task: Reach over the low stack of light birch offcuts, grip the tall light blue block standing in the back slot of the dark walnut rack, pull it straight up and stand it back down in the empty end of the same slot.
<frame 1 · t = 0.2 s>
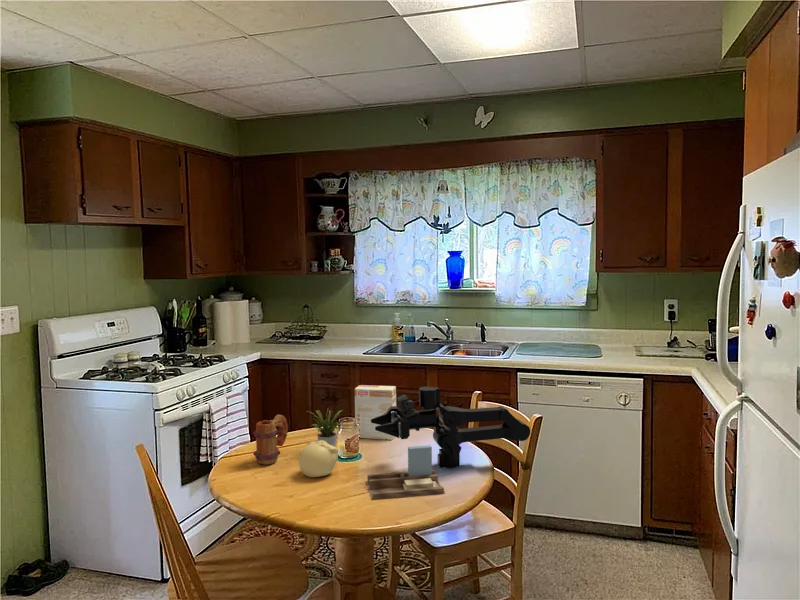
hand: (373, 424, 196), 16 cm above the table, tool horizontal, fingers open, 9 cm apart
rack: (404, 490, 184), on the table
house plant: (323, 452, 220), on the table
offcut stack: (420, 489, 182), point 1 cm above the table, touching rack
mug: (272, 460, 212), on the table
coffeecake box: (376, 436, 237), on the table
sculpture: (318, 474, 199), on the table
light blue block: (420, 481, 188), point 1 cm above the table, touching rack
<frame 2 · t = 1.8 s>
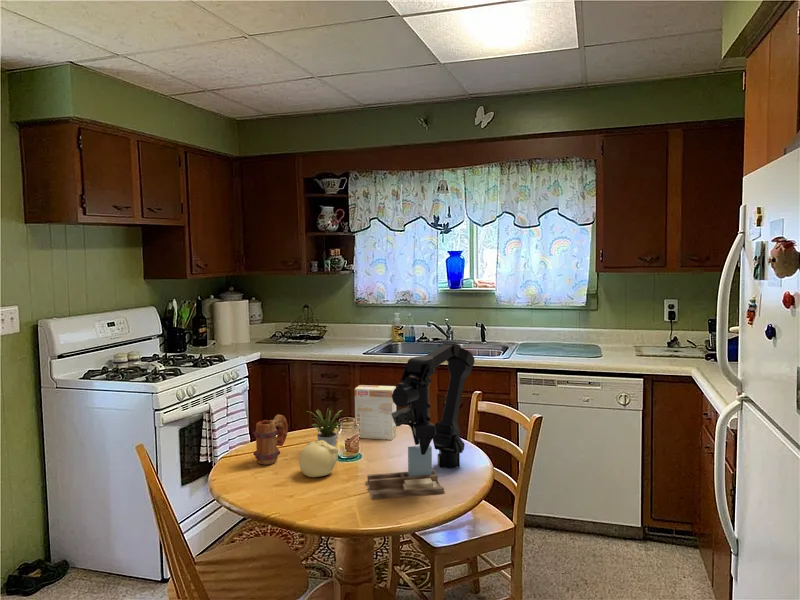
hand: (419, 449, 187), 11 cm above the table, tool pointing down, fingers open, 9 cm apart
nothing on the table moved.
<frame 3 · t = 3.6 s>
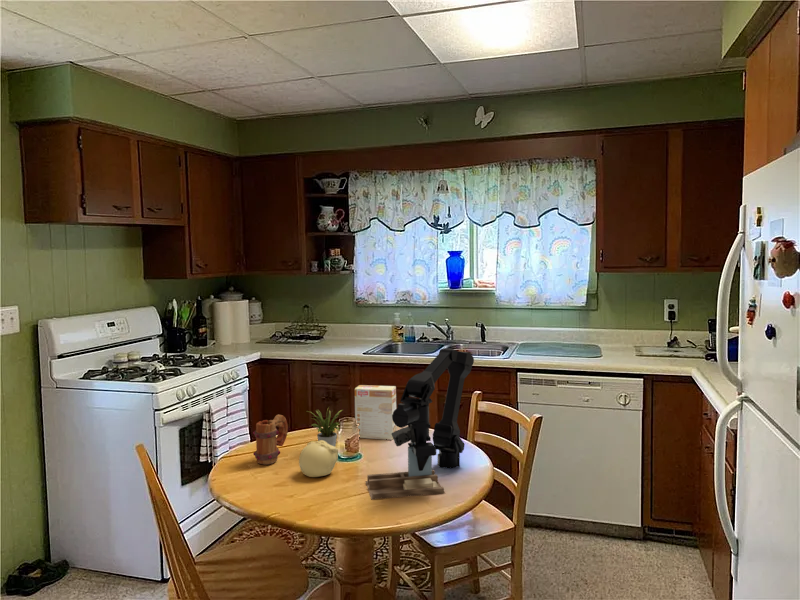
hand: (420, 469, 188), 5 cm above the table, tool pointing down, fingers closed on light blue block, 2 cm apart
light blue block: (420, 481, 188), point 1 cm above the table, touching gripper, rack
everything else where it was.
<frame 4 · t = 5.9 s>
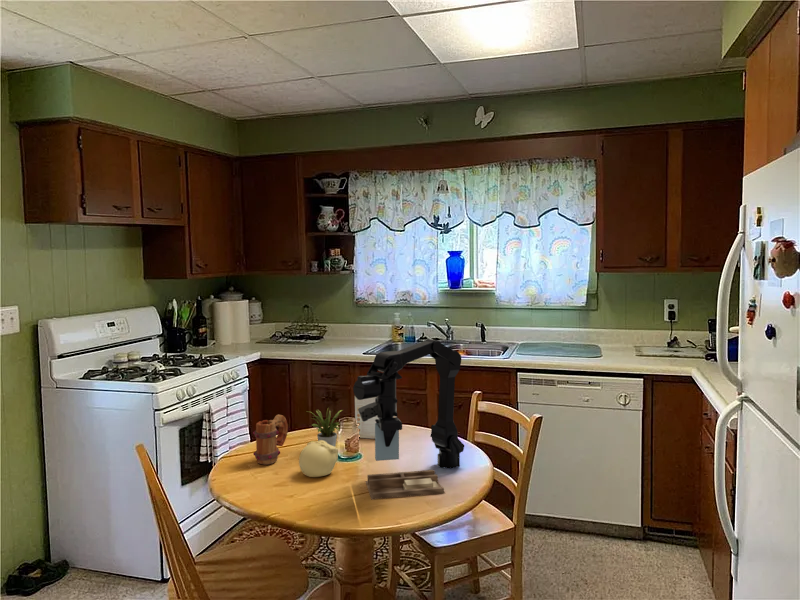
hand: (386, 445, 185), 13 cm above the table, tool pointing down, fingers closed on light blue block
light blue block: (387, 458, 185), point 9 cm above the table, touching gripper
everything else where it was.
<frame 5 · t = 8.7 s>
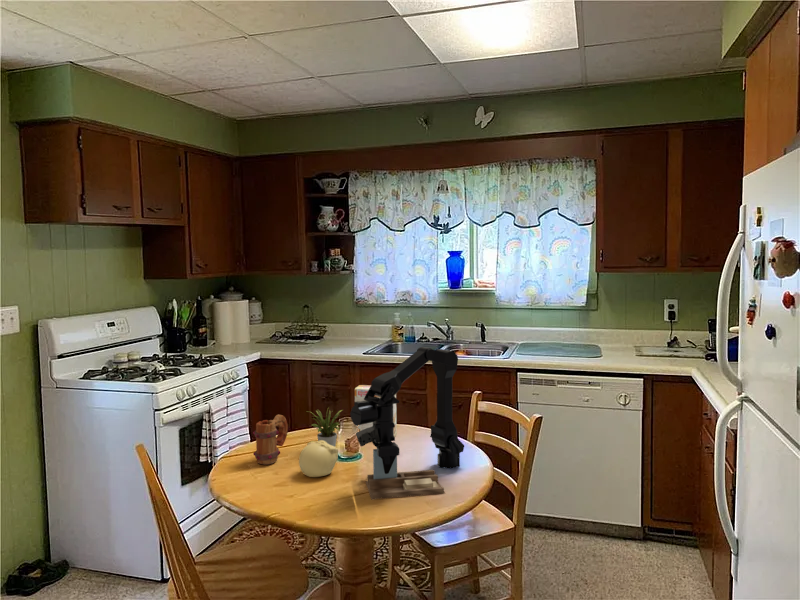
hand: (384, 469, 186), 6 cm above the table, tool pointing down, fingers open, 7 cm apart
light blue block: (385, 484, 186), point 1 cm above the table, touching rack
everything else where it was.
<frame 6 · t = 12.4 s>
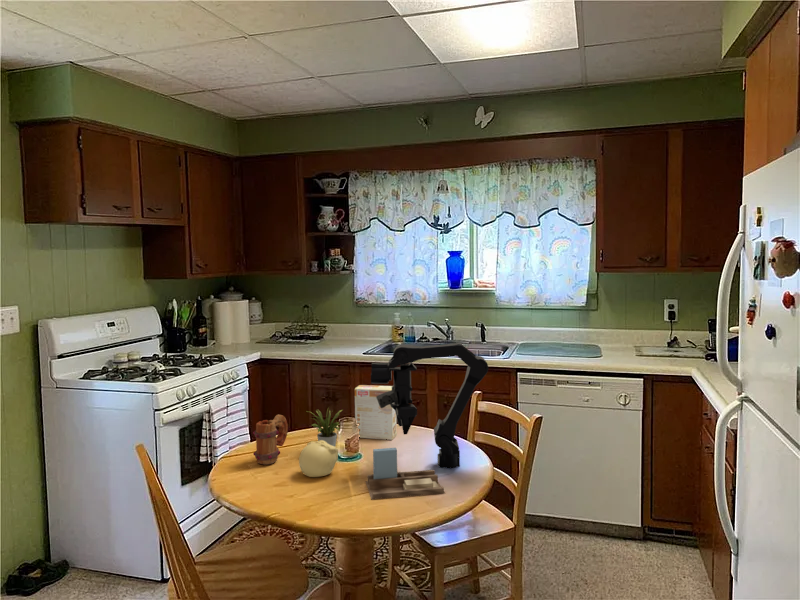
hand: (402, 430, 201), 13 cm above the table, tool pointing down, fingers open, 9 cm apart
nothing on the table moved.
at the end: light blue block 0.2 cm from the target spot on the rack, point 1.0 cm above the rack's base; light blue block tilted 0°; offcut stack moved 0.0 cm from its start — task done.
